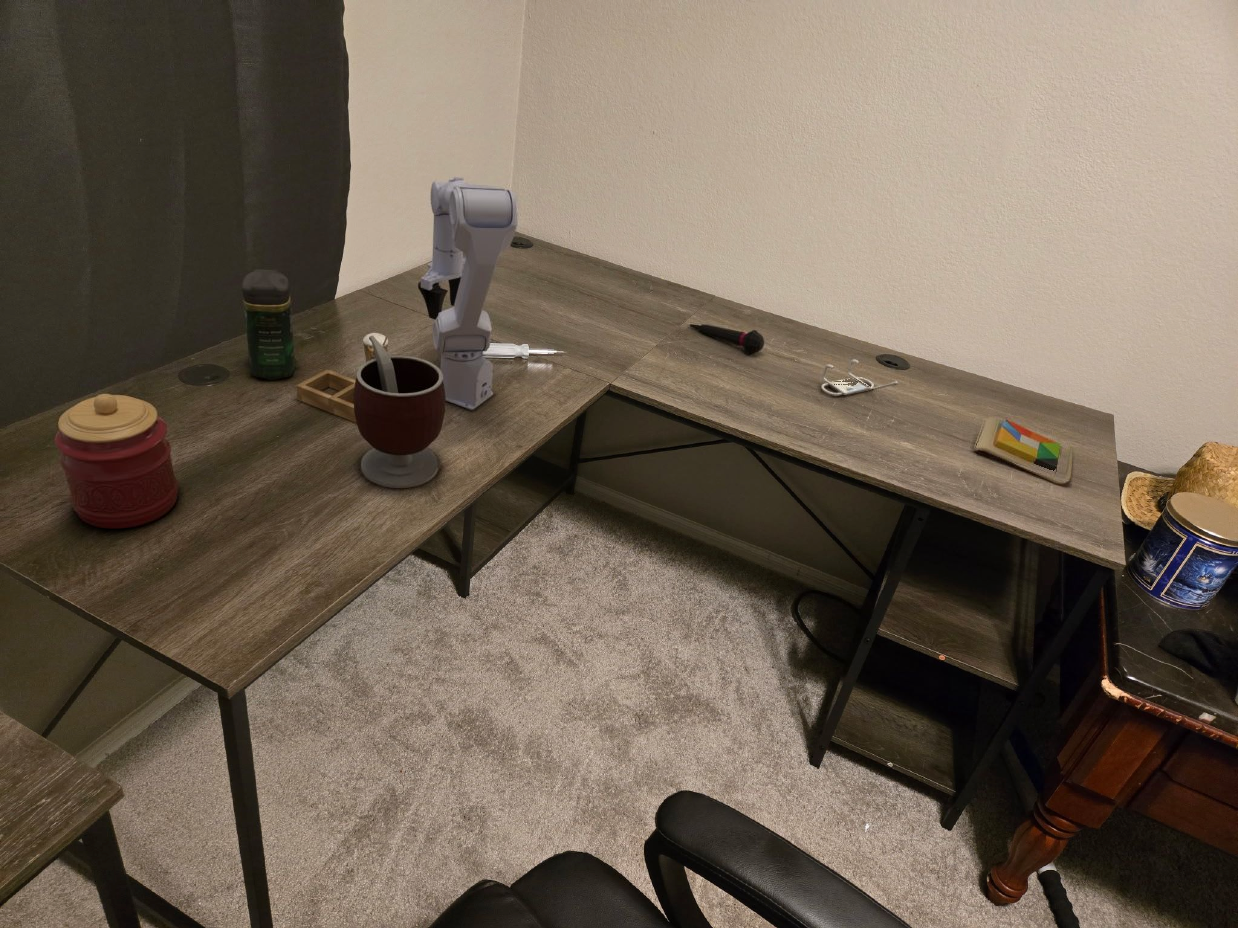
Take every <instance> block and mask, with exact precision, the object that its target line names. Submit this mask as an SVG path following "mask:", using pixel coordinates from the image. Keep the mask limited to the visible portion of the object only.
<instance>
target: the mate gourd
mask: <svg viewBox="0 0 1238 928" xmlns="http://www.w3.org/2000/svg"><path fill="white" fill-rule="evenodd" d="M369 340H370V341H371V342H372V345H373V348H374V352H375V356H376V358H375V359H372V360H369V361H367V362H366V361H365V362H364V363H362V364H360V366H359V367H358V368H357V371H356V378H355V380H356V381H355V387H354V402H353V404H354V414H355V418H356V426H357V429H358V431H359V434H360V436H361V437H362V438H363V440H365V441H366V442H367V443H368V444H369V445H370V446H371V447H372V448H371V449H369V450H368V451H367V452H365V454H364V455H363V456H362V458H361V460H360V470H361V472H362V474H363V475H364V477H365V478H366V479H367V480H368V481H370V482H372V483H374V484H376V485H378V486H381V487H386V488H391V489H407V488H409V489H410V488H414V487H418V486H421V485H423V484H426V483H427V482H429V481H430V480H433V478H434V477H435V476H436V474H437V472H438V470H439V461H438V458H437V456H436V455H435V454H434V453H433V452H432V451H431V450H429V449H428V447H429V446H430V445H432V443H433V442H435V440H437V438H438V437H439V436H440V434H441V430H442V427H443V423H444V419H445V415H446V414H445V413H446V402H447V401H446V396H445V388H444V383H443V375H442V372H441V370H440V368H439V367H438V366H437V365H436V364H434V363H432V362H431V361H428V360H426V359H423V358H419V357H415V356H409V355H389V353H388V351H387V352H386V350H385V349H384V348H383V347H382V345H381V344H380V343H379V342H378V341H377V340H376V339H375V337H374V336H370V337H369Z"/></svg>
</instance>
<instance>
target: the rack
mask: <svg viewBox="0 0 1238 928" xmlns="http://www.w3.org/2000/svg"><path fill="white" fill-rule="evenodd" d="M355 381H356V379H355V378H351V377H349V376H346V375H343V374H341V373H338V372H335V371H333V370H330V369H325V370H323V371H321V372H319V373H317V374H316V375H314V376H312V377H310V378H307V379H306V380H304V381H302V382H300V383H298V384H296V397H297V398H296V399H297V401H299V402H302V403H305V404H307V405H309V406H313V407H315V408H318V409H319V410H323V411H325V412H328V413H330V414H332V415H335V416H338V417H340V418H343V419H345V420H347V421H350V422H352V423H356V418H355V414H354V387H355ZM327 388H330V389H333V390H336V391H338V392H336V393H334V394H333V395H331V394H329V393H326V392H324V390H326V389H327ZM356 424H357V423H356Z"/></svg>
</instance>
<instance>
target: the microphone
mask: <svg viewBox="0 0 1238 928" xmlns="http://www.w3.org/2000/svg"><path fill="white" fill-rule="evenodd" d="M689 327H691V328H692V329H695V330H697V331H699V332H700V333H702V334H703V335H706V336H709V337H711V338H715V339H717V340H720V341H722V342H723V341H724V342H727V343H729V344H732V345H735V346H738V347H742V348H743V349H744V351H745V352H746V353H747V355H748V354H749V355H751V354H757V353H759V352H761V351H762V350H763V348H764V347H765V339H764V336H763V335H762V334H761V333H760V332H759V331H758V330H756V329H753V330H750V331H748V332H747V333H746V332H744V331H740V330H735V329H730V328H726V327H721V326H715V325H711V324H702V323H701V324H695V323H693V324H692V323H690V324H689Z"/></svg>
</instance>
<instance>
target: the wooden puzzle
mask: <svg viewBox="0 0 1238 928" xmlns="http://www.w3.org/2000/svg"><path fill="white" fill-rule="evenodd" d="M986 418H987V420H986V423H985V426H984V429H983V431H982V434H981V436H980V438H979V435H980V432H981V429H982V426H983V423H984V420H982V423H981V426H980V428H979V432H978V434H977V437H976V441H975V444H974V447H973V451H974V452H981V451H982V452H986V453H988V454H990V455H992V456H995V457H997V458H999V457H1000V458H999V459H1001V458H1002V459H1001V460H1003V459H1005V460H1004V461H1006V460H1007V461H1006V462H1008V461H1010V462H1014V463H1016V464H1019V465H1023V466H1025V467H1029V468H1030V467H1031V466H1028V465H1030V464H1032V463H1030V462H1033V463H1034V464H1036V465H1039V466H1041V467H1044V468H1047V469H1049V470H1053V471H1054V470H1055V469H1056V472H1057V465H1058V459H1059V455H1060V457H1061V453H1062V449H1063V447H1064V446H1063V445H1061V442H1057V441H1056V440H1053V439H1050V438H1048V437H1046V436H1043V435H1041V434H1039V433H1037V432H1035V431H1032V430H1030V429H1028V428H1026V427H1025V426H1022V425H1020V424H1018V423H1015V422H1014V421H1011V420H1009V419H1007V418H1005V419H1003V420H1002V419H1001V418H998V417H995V416H989V417H986ZM978 438H979V442H978V443H977V441H978ZM976 443H977V446H976ZM975 446H976V448H977V449H978V450H980V451H978V450H976V449H975ZM1069 447H1070V449H1069V450H1070V452H1069V458H1068V463H1067V464H1068V465H1067V469H1066V475H1065V477H1066V478H1065V479H1066V480H1069V481H1070V480H1071V478H1072V471H1073V470H1072V469H1073V461H1074V449H1075V448H1074V447H1073V446H1069ZM1028 461H1029V462H1028ZM1010 462H1009V463H1010ZM1027 464H1028V465H1027ZM1034 464H1032V465H1034ZM1013 465H1014V466H1016V465H1015V464H1013ZM1039 466H1038V467H1039ZM1018 467H1019V468H1020V469H1023V470H1025V471H1027V472H1030V473H1032V474H1034V475H1036V476H1038V477H1040V478H1043V479H1045V480H1047V481H1050V482H1052V483H1054V484H1057V485H1065V484H1066V483H1063V482H1061V481H1059V480H1056V479H1053V478H1050V477H1047V476H1044V475H1041V474H1039V473H1036V472H1033V471H1031V470H1028V469H1025V468H1023V467H1020V466H1018ZM1056 472H1055V475H1054V477H1056Z"/></svg>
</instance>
